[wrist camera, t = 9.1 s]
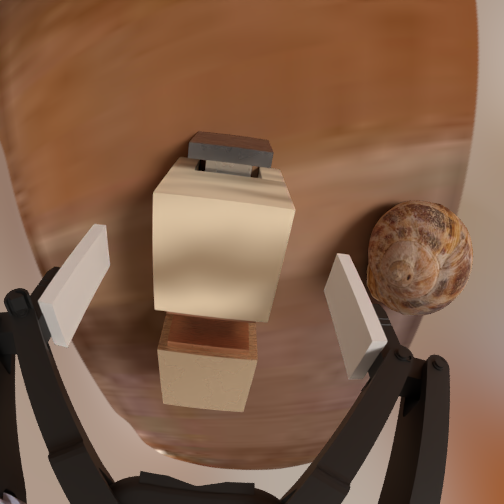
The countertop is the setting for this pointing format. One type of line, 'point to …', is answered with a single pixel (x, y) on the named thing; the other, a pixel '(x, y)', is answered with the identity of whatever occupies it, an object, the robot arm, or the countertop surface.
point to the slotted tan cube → (219, 242)
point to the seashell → (418, 258)
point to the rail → (212, 330)
